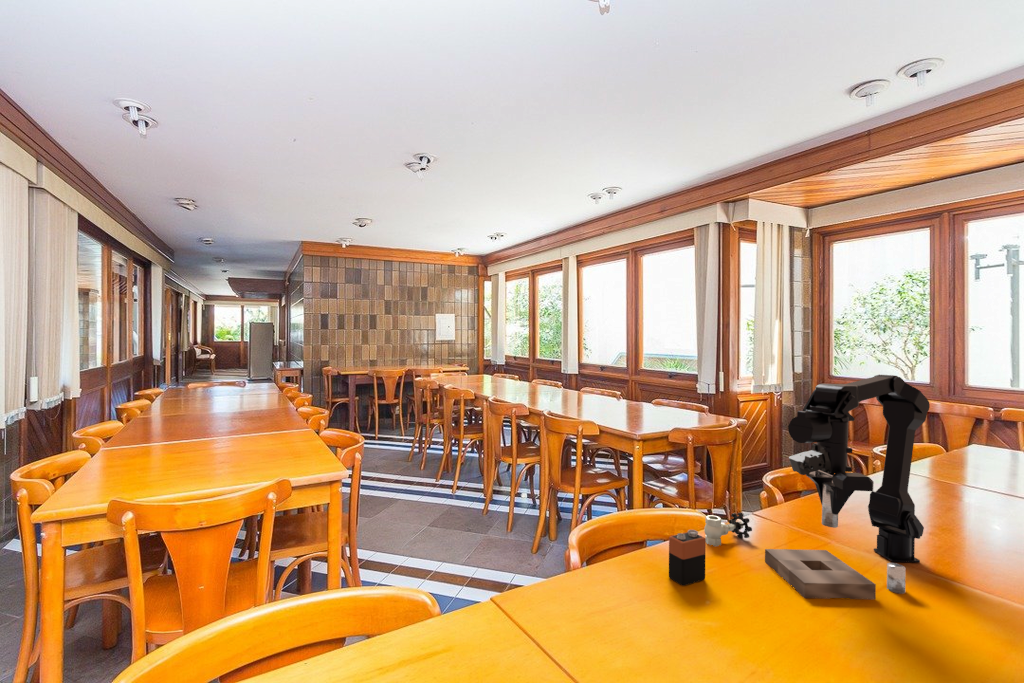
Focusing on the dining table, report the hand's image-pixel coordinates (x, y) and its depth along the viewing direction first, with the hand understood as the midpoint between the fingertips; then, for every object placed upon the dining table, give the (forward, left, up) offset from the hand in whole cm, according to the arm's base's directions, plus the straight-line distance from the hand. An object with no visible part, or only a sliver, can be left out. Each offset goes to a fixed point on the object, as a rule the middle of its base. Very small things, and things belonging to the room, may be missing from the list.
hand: (830, 511), depth 109 cm
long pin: (0, 0, -3) cm, 3 cm away
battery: (+33, +4, -14) cm, 36 cm away
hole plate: (+5, +3, -14) cm, 15 cm away
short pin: (-9, +7, -14) cm, 18 cm away
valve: (+16, -17, -14) cm, 27 cm away
